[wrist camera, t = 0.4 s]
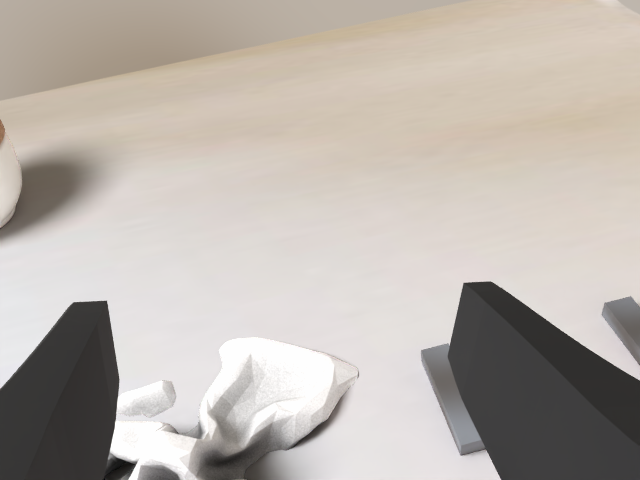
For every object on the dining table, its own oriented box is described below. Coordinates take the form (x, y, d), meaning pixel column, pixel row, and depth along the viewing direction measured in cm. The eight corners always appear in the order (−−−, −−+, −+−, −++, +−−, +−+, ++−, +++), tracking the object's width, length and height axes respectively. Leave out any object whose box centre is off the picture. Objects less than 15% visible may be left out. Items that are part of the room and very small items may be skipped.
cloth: (338, 314, 39) (326, 244, 35) (446, 635, 25) (447, 583, 21) (-10, 406, 37) (-66, 345, 33) (-98, 806, 23) (-212, 786, 19)
